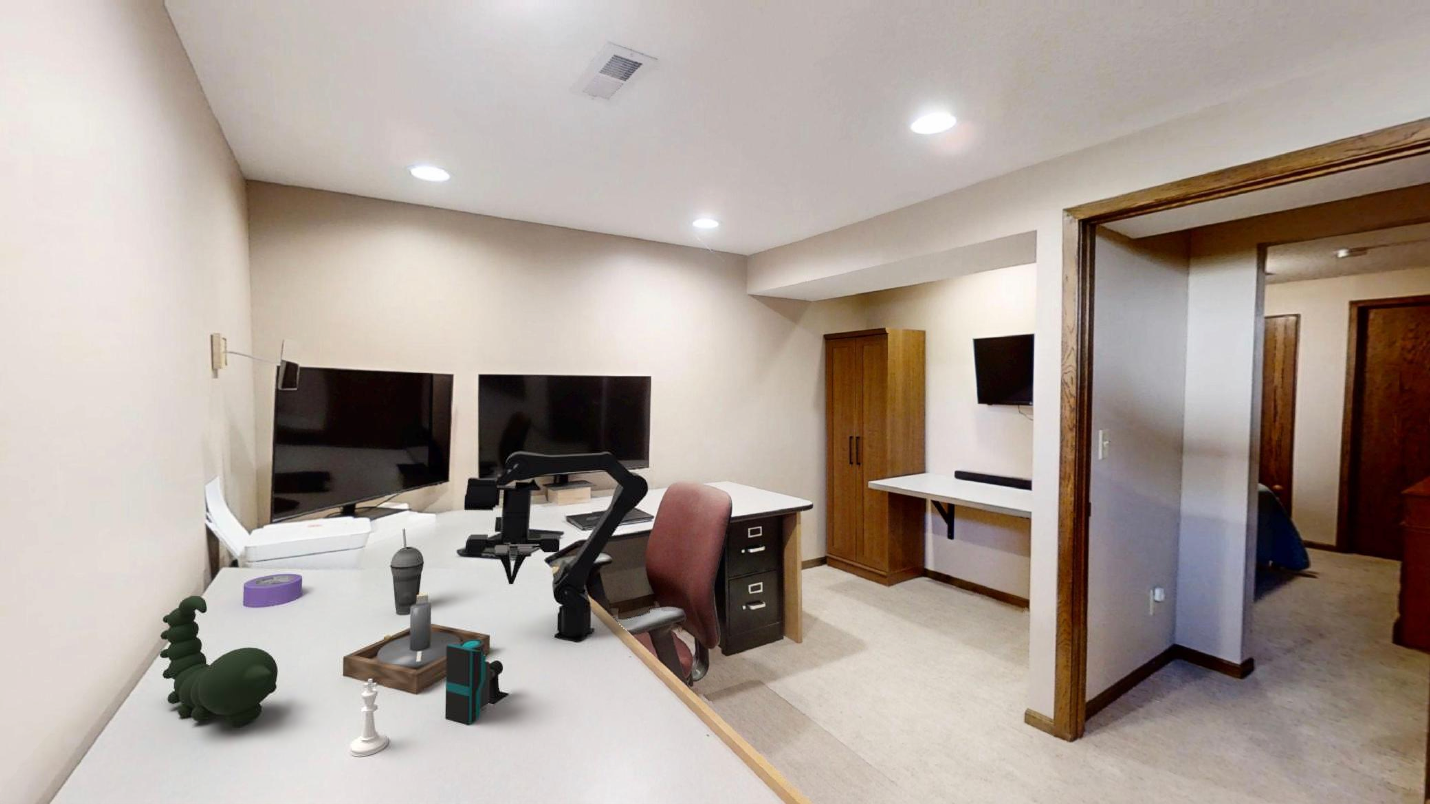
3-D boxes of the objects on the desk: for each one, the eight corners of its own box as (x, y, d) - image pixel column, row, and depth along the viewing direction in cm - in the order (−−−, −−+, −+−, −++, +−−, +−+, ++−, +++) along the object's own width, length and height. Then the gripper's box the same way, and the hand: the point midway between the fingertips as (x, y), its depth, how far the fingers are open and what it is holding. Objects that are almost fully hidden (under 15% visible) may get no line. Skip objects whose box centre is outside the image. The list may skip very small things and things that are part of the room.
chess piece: (360, 737, 87) (361, 672, 87) (394, 736, 87) (395, 671, 87) (342, 757, 82) (343, 688, 82) (377, 756, 82) (379, 687, 82)
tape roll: (292, 589, 152) (292, 570, 152) (309, 598, 145) (309, 579, 145) (236, 601, 142) (236, 581, 142) (251, 612, 136) (252, 591, 136)
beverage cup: (408, 618, 133) (410, 533, 133) (381, 615, 134) (383, 531, 134) (430, 607, 140) (431, 526, 140) (404, 605, 141) (406, 525, 141)
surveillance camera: (514, 627, 99) (471, 651, 90) (513, 696, 99) (470, 726, 90) (488, 622, 101) (444, 645, 92) (487, 689, 101) (443, 718, 92)
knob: (460, 663, 107) (461, 613, 107) (372, 678, 101) (373, 624, 101) (459, 634, 120) (460, 589, 120) (381, 646, 114) (382, 598, 114)
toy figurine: (141, 723, 92) (236, 747, 83) (137, 603, 93) (231, 613, 83) (212, 695, 101) (305, 714, 91) (208, 585, 102) (300, 593, 92)
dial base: (490, 651, 116) (490, 632, 116) (416, 694, 99) (416, 672, 99) (422, 637, 123) (423, 619, 123) (341, 675, 105) (342, 654, 105)
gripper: (559, 504, 132) (554, 572, 132) (473, 503, 126) (467, 574, 126) (561, 513, 121) (556, 586, 121) (467, 513, 116) (462, 589, 115)
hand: (511, 583), depth 121 cm, fingers closed
